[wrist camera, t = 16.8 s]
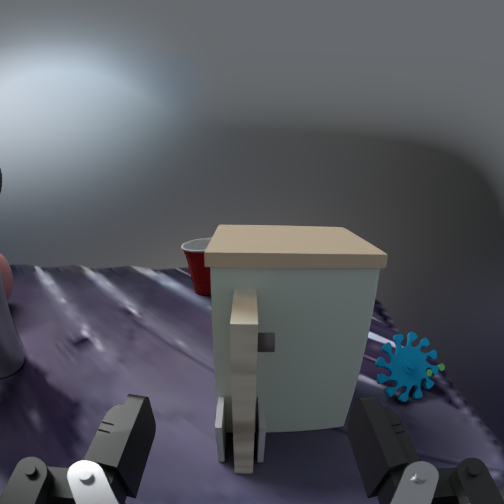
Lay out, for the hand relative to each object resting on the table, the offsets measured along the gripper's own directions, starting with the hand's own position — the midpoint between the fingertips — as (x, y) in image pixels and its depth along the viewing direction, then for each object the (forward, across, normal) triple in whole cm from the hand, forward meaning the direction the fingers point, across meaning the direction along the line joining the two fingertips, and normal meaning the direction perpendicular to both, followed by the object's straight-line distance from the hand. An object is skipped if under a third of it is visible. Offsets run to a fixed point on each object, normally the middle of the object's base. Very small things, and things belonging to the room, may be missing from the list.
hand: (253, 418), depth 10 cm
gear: (+21, +22, -19) cm, 36 cm away
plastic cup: (+58, -10, -19) cm, 62 cm away
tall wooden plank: (+12, 0, -19) cm, 22 cm away
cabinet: (+19, +4, -19) cm, 27 cm away
